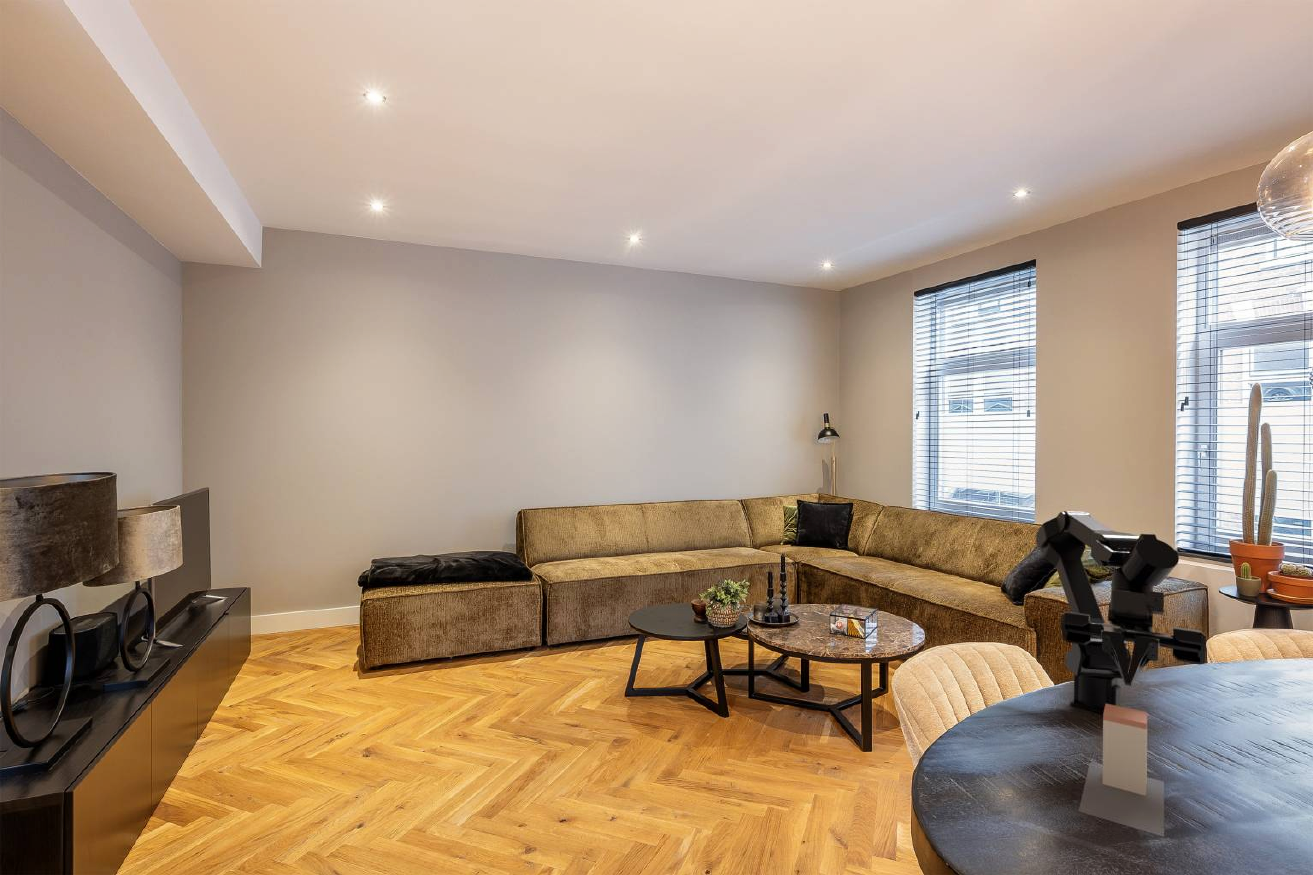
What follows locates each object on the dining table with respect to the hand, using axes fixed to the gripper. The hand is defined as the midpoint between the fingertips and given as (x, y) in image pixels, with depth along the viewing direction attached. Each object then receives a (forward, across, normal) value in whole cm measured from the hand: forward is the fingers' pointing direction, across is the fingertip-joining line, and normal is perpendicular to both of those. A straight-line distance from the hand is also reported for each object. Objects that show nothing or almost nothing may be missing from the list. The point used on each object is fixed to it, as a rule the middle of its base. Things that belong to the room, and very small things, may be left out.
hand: (1128, 684), depth 101 cm
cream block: (+14, 0, +3) cm, 14 cm away
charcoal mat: (+18, 0, 0) cm, 18 cm away
